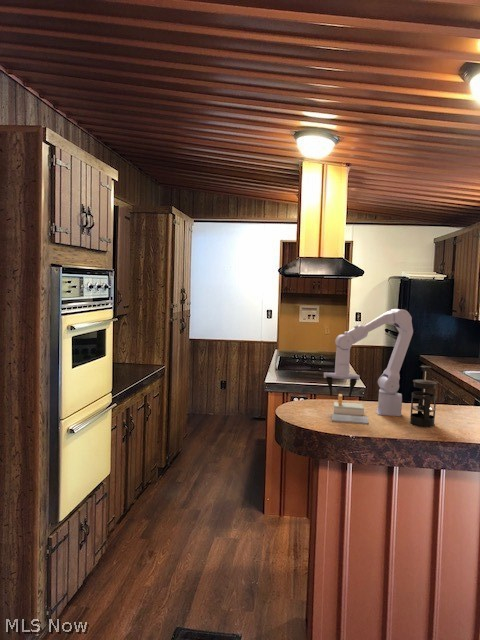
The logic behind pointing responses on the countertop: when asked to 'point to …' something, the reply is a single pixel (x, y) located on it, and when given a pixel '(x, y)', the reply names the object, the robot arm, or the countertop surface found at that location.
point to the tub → (348, 411)
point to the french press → (423, 403)
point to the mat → (349, 418)
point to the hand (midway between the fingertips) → (340, 395)
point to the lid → (347, 405)
